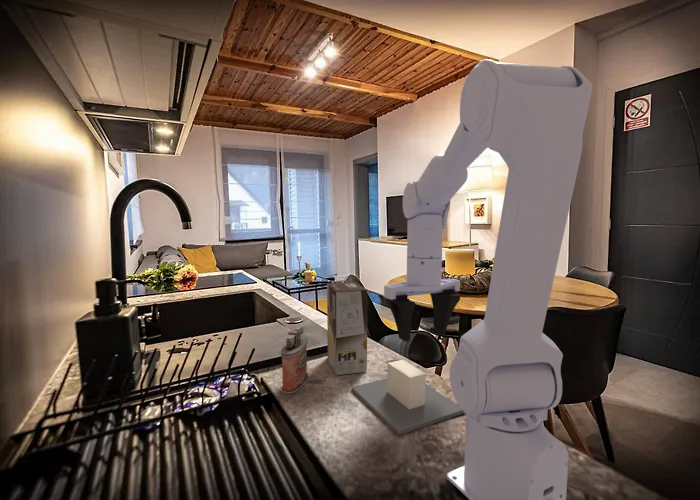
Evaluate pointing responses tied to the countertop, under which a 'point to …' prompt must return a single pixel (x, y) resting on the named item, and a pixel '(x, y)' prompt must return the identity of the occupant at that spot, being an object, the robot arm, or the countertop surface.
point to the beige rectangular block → (406, 384)
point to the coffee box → (347, 327)
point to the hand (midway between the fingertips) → (422, 336)
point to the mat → (399, 414)
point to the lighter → (294, 363)
